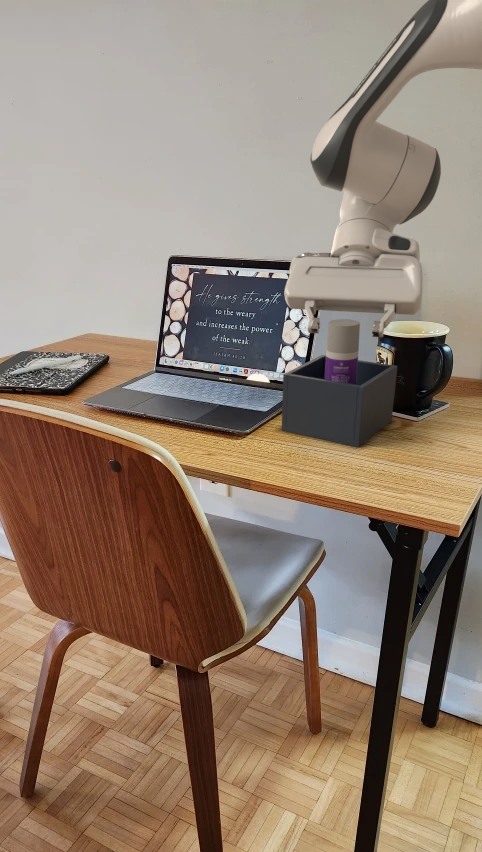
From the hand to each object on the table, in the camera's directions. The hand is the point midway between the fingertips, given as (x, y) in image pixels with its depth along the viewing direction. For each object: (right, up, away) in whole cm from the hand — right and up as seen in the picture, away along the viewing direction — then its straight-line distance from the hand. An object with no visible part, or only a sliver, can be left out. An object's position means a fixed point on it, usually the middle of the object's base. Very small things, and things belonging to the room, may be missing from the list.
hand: (344, 333), depth 101 cm
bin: (0, -13, +5) cm, 14 cm away
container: (0, -12, +5) cm, 13 cm away
